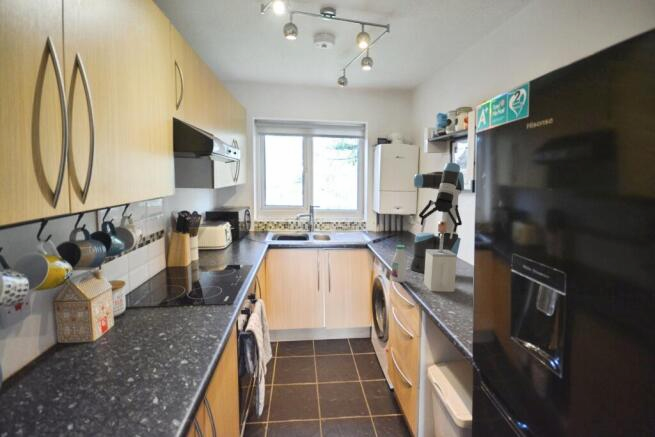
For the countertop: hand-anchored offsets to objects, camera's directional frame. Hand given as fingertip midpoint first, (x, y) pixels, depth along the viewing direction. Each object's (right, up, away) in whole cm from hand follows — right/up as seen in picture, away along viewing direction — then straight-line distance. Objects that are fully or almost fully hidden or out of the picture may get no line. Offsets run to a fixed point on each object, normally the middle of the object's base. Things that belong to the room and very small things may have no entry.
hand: (436, 235), depth 156 cm
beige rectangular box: (+6, -29, +12) cm, 32 cm away
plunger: (+6, -19, +13) cm, 24 cm away
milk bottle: (-13, -27, +24) cm, 38 cm away
